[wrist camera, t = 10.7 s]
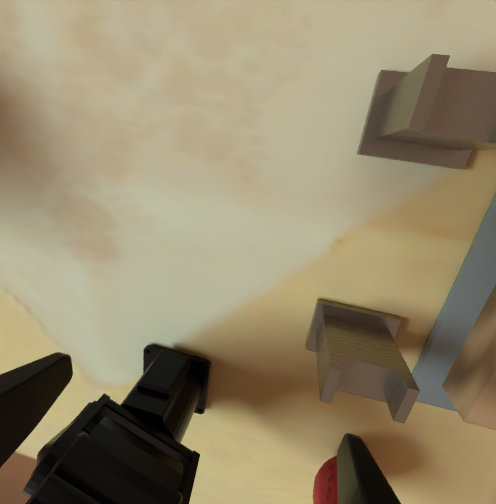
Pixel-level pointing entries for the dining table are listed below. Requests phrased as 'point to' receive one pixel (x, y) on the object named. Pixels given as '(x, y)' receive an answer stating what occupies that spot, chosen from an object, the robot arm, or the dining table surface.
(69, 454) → the robot arm
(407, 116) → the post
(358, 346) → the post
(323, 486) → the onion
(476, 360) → the rail
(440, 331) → the mat
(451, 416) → the dining table surface
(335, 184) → the dining table surface
